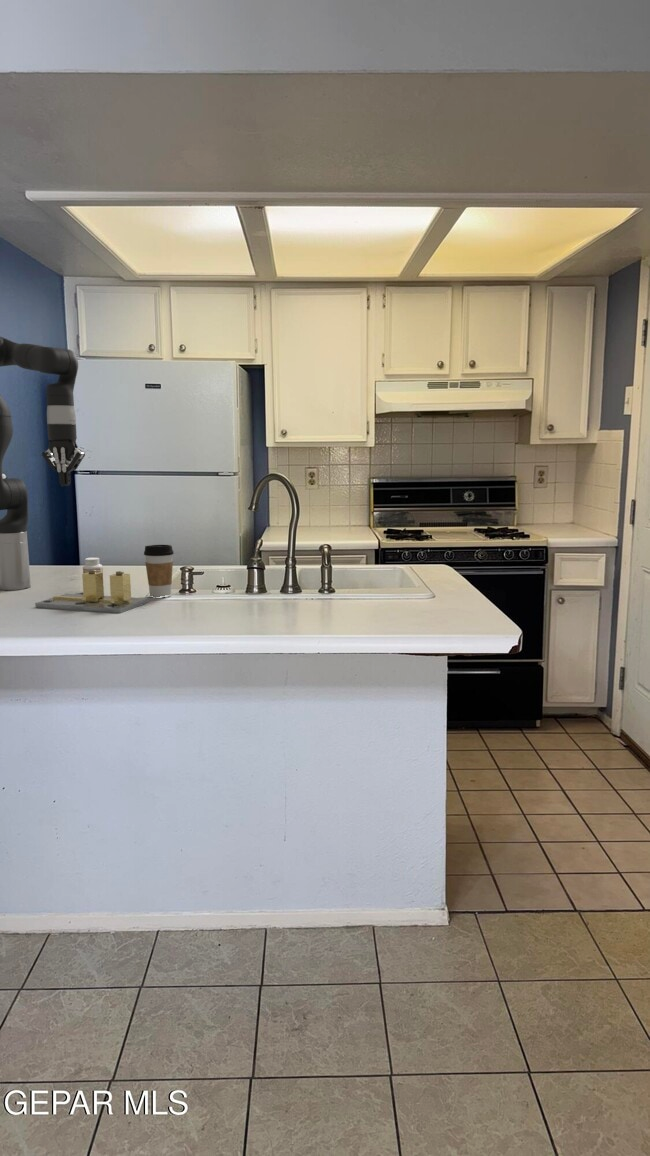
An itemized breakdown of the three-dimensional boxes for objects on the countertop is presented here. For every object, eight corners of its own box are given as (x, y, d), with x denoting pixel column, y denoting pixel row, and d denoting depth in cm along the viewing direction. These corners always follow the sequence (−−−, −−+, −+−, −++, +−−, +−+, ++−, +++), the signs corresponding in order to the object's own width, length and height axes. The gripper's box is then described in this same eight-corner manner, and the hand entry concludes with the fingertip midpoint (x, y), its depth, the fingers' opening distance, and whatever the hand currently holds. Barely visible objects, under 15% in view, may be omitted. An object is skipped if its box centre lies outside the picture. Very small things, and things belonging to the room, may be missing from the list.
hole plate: (35, 607, 207) (35, 602, 207) (67, 597, 221) (66, 593, 220) (120, 613, 200) (120, 608, 200) (147, 602, 213) (147, 598, 213)
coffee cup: (140, 598, 219) (138, 546, 216) (153, 593, 227) (151, 542, 224) (167, 599, 217) (165, 547, 214) (180, 594, 225) (178, 543, 222)
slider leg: (77, 602, 206) (75, 572, 205) (91, 598, 212) (89, 569, 211) (90, 603, 205) (88, 573, 204) (104, 598, 211) (102, 569, 210)
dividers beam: (44, 601, 209) (42, 571, 208) (58, 597, 215) (56, 567, 214) (121, 606, 202) (120, 575, 201) (134, 601, 208) (133, 571, 207)
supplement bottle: (92, 590, 232) (90, 556, 230) (107, 591, 230) (105, 557, 228) (80, 593, 227) (78, 559, 225) (96, 594, 225) (94, 560, 223)
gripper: (32, 422, 211) (36, 486, 214) (74, 422, 207) (77, 487, 210) (49, 423, 218) (53, 484, 221) (90, 423, 214) (93, 485, 217)
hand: (65, 485), depth 216 cm, fingers closed
